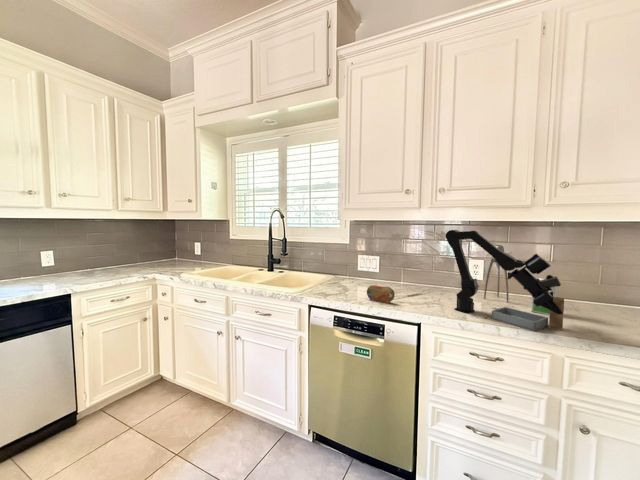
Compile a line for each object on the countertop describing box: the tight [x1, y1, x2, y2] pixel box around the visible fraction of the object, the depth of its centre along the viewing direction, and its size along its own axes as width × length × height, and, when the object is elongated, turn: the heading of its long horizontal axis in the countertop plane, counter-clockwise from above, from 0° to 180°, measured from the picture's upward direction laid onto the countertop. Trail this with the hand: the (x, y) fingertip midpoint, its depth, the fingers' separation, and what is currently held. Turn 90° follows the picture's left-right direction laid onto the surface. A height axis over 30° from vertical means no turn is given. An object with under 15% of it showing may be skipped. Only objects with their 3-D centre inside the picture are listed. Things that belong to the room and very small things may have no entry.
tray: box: [490, 306, 549, 332], centre depth 116 cm, size 16×11×4 cm
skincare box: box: [531, 277, 558, 316], centre depth 128 cm, size 8×7×16 cm
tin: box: [366, 284, 396, 304], centre depth 146 cm, size 15×3×8 cm, turn 54°
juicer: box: [483, 244, 509, 303], centre depth 147 cm, size 10×11×30 cm
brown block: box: [548, 296, 565, 331], centre depth 109 cm, size 4×4×12 cm
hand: (561, 312), depth 109 cm, fingers closed on brown block, 4 cm apart
